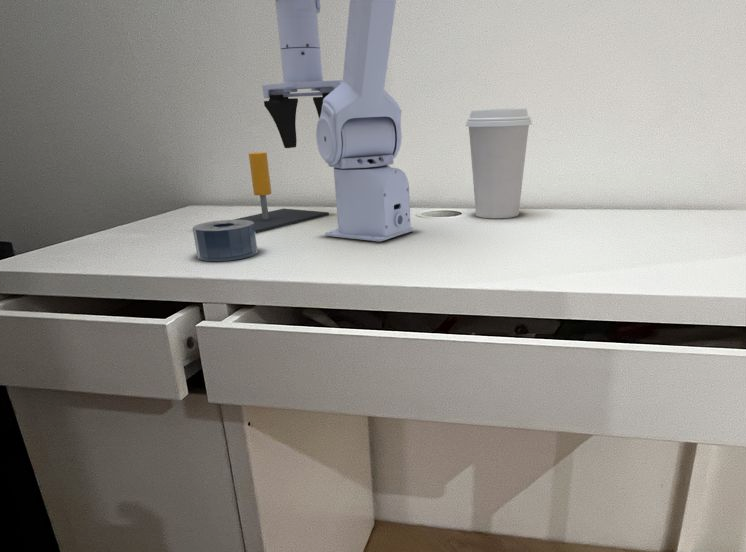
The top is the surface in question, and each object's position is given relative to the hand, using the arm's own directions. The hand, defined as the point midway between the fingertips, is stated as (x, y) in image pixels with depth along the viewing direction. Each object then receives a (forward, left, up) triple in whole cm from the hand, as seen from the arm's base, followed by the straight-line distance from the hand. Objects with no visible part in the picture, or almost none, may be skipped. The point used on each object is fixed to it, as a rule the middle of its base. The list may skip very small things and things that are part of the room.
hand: (309, 147), depth 95 cm
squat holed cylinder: (-8, +25, -10) cm, 28 cm away
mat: (+4, +7, -10) cm, 13 cm away
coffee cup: (-26, -12, -11) cm, 31 cm away
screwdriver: (+4, +7, -10) cm, 13 cm away
